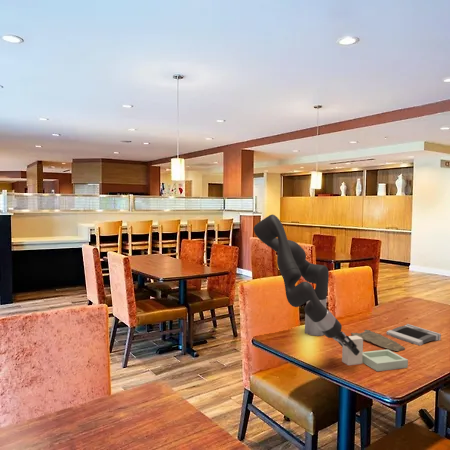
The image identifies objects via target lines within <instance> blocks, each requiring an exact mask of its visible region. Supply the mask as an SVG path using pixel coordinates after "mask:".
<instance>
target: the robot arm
mask: <svg viewBox="0 0 450 450" xmlns="http://www.w3.org/2000/svg"><path fill="white" fill-rule="evenodd" d="M253 231H254V232H253V233H254V235H255V236H256V237H257V238H258V239H259V240H260V241H261V242H262V243H263V244H265V245H266V246H267V247H269V248H270V249H271V250H273V251H275V252H276V254H277V257H276V258H277V259H276V263H277V268H278V270H279V273H280V274H281V276H282V279H283V282H284V283H283V284H284V290H285V297H286V301H288V303H289V305H291V306H292V307H293V308H298V307H301V306H302V305H304V304H306V305H305V306H304V309H303V310H304V312H305V315H304V334H307V335H310V336H314V337H316V336H317V337H319V336H320V337H321V336H325V337H326V338H328V339H333V340H334V341H335V342H337V343H338V344H339V346H341V347H342V346H347V347H348V348H349V350H351V351H352V352H353V353H354V354H355V355H356V356H357V355H358V354H359V352H360V351H359V350H358V349H357V348H356V347H357V345H356V344H355V343H354V342H353V341H352V340H351V339H350V338H349V337H348V336H349V335H346V333H345V332H343V331H342V329H343V328H342V327H343V326H342V323H341V322H340V321H339V320H338V319H337V318H336V317H335V316H334V315H333V313H332V312H331V311H330V310H328V309H327V295H328V291H329V280H330V279H329V277H330V276H329V275H330V273H329V272H330V271H329V268H328V267H327V266H326V265H323V264H318V263H317V264H316V263H312V262H309V261H308V260H307V254H306V251H305V250H304V249H303V247H301V245H299V243H298V242H296V241H293V240H290V239H288V237H287V234H286V231H285V229H284V225H283V223H282V221H281V220H280V219H279V217H277V216H276V215H275V214H269V215H268V216H266V217H265V218H263V219H261V220H260V221H259V222H257V223H256V224H254V227H253ZM301 277H302V278H303V279H304V280H305V281H301V282H299V283H298V281H299V280H300V279H301ZM297 283H298V284H297ZM312 284H315V288H314V287H313V285H312ZM343 342H344V343H345V344H344V343H343Z"/></svg>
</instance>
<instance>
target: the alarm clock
mask: <svg viewBox="0 0 450 450" xmlns="http://www.w3.org/2000/svg"><path fill="white" fill-rule="evenodd" d="M386 335H387V336H390V337H392V338H395V339H397V340H401V341H403V342H406V343H408V344H412V345H417V346H419V347H420V346H423V345H424V344H425V343H428V342H431V341H441V337H442V334H441V333H439V332H436V331H432V330H429V329H426V328H423V327H419V326H417V325H413V324H409V323H406V325H405V324H404V325H402V326H398V327H394V328H393V329H388V330H387V331H386Z"/></svg>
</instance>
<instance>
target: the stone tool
mask: <svg viewBox="0 0 450 450" xmlns="http://www.w3.org/2000/svg"><path fill="white" fill-rule="evenodd" d="M350 334H351V336H356V335H357V336H359V337H361V338H363V341H367V342H368V343H371V344H373V345H376V346H379V347H381V348H385V349H388V350H390V351H392V352H398V353H399V352H401V351H404V350H405V349H406V347H405V346H403V345H401V344H400V343H398V342H397V341H395V340H393V339H392V338H391V339H390V338H388V337H386V336H384V335H382V334H380V333H377V332H374V331H371V330H369V329H364V331H363V332H359V333H358V332H351V333H350Z"/></svg>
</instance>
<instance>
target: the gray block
mask: <svg viewBox="0 0 450 450" xmlns="http://www.w3.org/2000/svg"><path fill="white" fill-rule="evenodd" d="M347 336H348V337H349V338H350V339H351V340H352V341H353V342H354V343H355V344H356V345H357V347H356V348H357V349H358V350H359V351H360V352H359V354H358V355H357V356H356V355H355V354H354V353H353V352H352V351H351V350H349V348H348V347H347V346H341V347H342V349H341V350H342V351H341V353H342V354H341V362H342V363H344V364H345V365H347V366H355V365H363V362H362V359H363V352H364V340H363V338H361V337H359V336H357V335H356V336H353V335H347ZM343 343H344V342H343ZM344 344H345V343H344Z"/></svg>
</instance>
